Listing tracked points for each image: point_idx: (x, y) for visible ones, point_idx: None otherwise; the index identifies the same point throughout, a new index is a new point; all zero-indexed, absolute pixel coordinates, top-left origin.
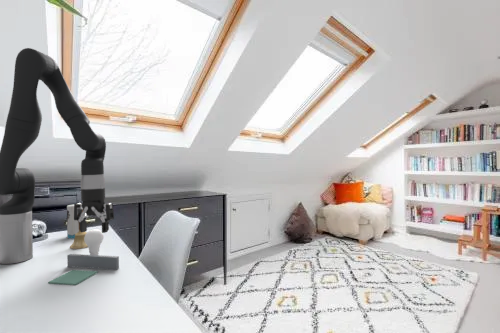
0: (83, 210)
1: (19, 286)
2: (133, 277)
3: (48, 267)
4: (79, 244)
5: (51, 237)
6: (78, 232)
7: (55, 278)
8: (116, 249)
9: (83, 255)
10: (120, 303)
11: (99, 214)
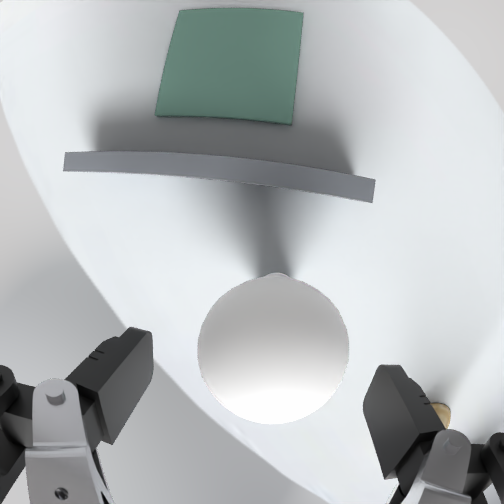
0: None
1: (388, 11)
2: (37, 109)
3: (436, 184)
4: None
5: None
6: None
7: (300, 38)
8: None
9: (261, 167)
10: (46, 2)
11: (31, 470)
